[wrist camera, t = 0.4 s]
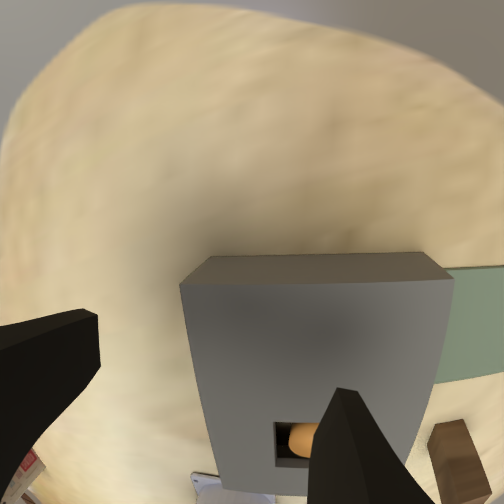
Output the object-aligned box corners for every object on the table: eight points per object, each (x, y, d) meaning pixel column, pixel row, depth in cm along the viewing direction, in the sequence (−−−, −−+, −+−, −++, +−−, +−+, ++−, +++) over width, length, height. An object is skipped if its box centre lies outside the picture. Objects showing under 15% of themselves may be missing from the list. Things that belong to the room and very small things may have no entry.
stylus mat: (507, 367, 16) (509, 370, 16) (417, 382, 17) (418, 385, 17) (533, 263, 14) (536, 265, 14) (437, 268, 16) (439, 270, 15)
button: (335, 440, 17) (335, 457, 15) (291, 440, 17) (288, 457, 16) (339, 410, 16) (340, 428, 14) (291, 410, 16) (288, 428, 15)
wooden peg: (453, 440, 18) (476, 511, 11) (426, 445, 19) (445, 521, 11) (463, 419, 18) (492, 493, 10) (435, 424, 18) (459, 503, 11)
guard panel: (385, 448, 19) (392, 491, 15) (236, 447, 22) (223, 489, 17) (423, 252, 15) (455, 279, 11) (210, 256, 18) (179, 283, 14)
